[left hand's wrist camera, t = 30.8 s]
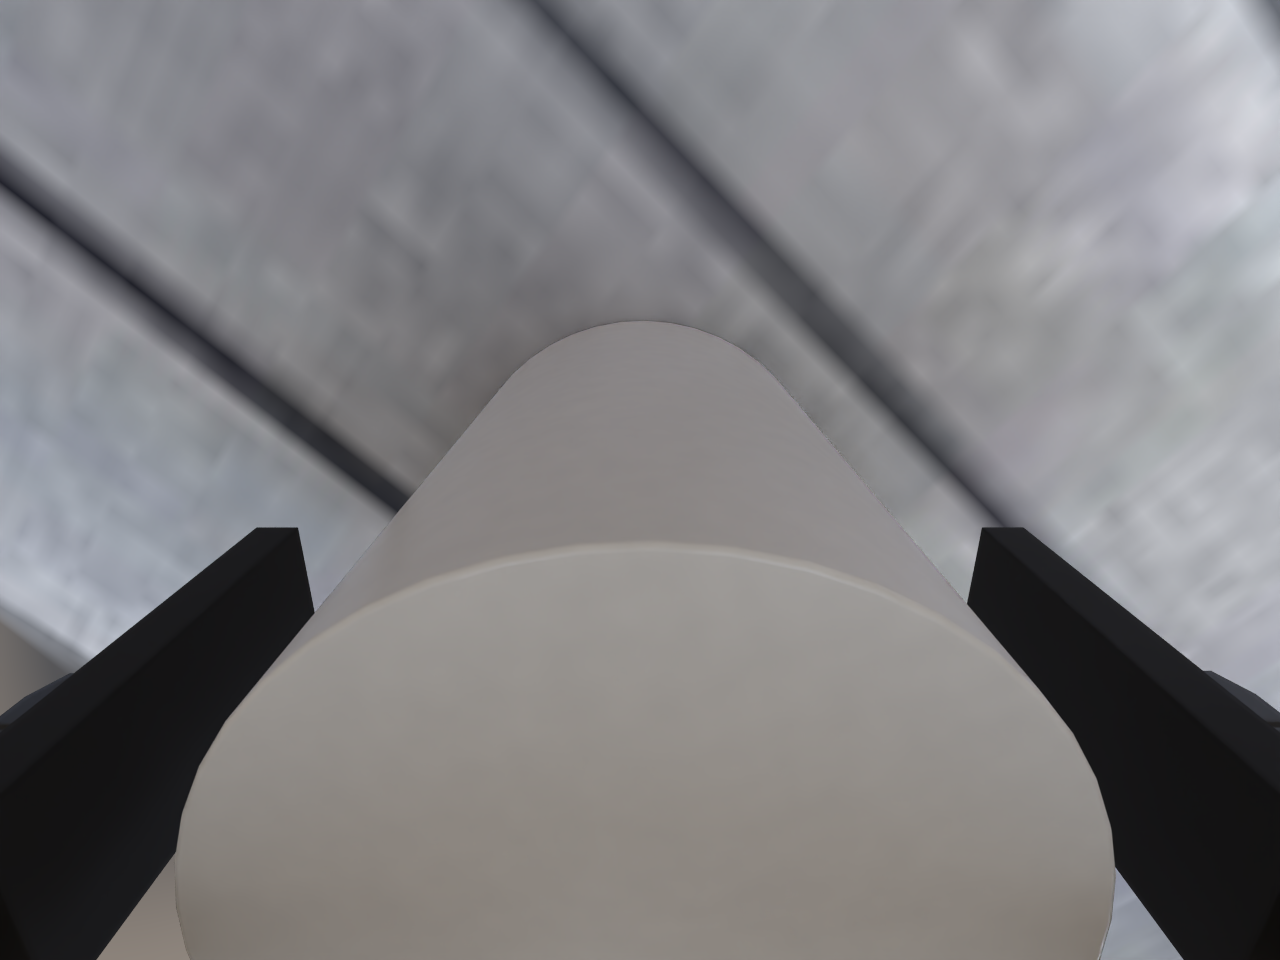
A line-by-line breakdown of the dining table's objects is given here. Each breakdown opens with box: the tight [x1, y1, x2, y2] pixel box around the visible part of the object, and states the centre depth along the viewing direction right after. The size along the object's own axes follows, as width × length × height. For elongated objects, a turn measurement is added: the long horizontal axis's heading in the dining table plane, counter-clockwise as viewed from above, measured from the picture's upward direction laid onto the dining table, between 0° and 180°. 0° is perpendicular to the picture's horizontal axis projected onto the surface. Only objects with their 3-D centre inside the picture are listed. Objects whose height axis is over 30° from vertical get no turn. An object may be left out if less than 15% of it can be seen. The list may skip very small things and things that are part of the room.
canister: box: [174, 321, 1116, 960], centre depth 12 cm, size 9×9×12 cm
